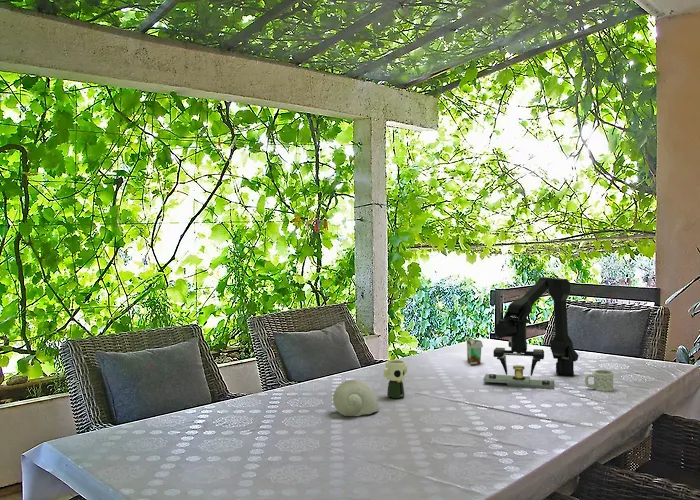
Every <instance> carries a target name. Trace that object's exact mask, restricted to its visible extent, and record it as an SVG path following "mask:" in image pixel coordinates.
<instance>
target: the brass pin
mask: <svg viewBox="0 0 700 500" xmlns="http://www.w3.org/2000/svg"><path fill="white" fill-rule="evenodd" d="M512 369H513V370H514V376H515V379H516V380H523V376H524V370H525V369H526V367H525V365H519V364H518V365H517V364H516V365H512Z"/></svg>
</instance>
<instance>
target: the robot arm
mask: <svg viewBox="0 0 700 500" xmlns="http://www.w3.org/2000/svg"><path fill="white" fill-rule="evenodd" d="M546 291H548V294H549V295H550V298H551V299H552V300H553V315H554V317H553V318H554V319H553V320H554V336H553V338H552V339H550V343H549V344H550V347H549V349H550V351H551V354H552V358H553V359H556V360H557V361H556V362H555V373H556V375H557V376H561V377H562V376H563V377H574V376H575V372H574V371H575V370H574V362H576V361H578V360H579V354H578V353H577V351H576V350H575V349H574V345H573V340H572V339H571V337H570V336H569V330H568V329H569V328H568V308H567V307H568V305H567V300H568V297H569V296H570V294H571V282H570V281H569V280H568V278H558V277H550V276H540V277H539V278H538V279H537V281H536V282H535V284H534V285H532V286H531V288H530V289H528V291H527V292H526V293H525V294H524V295H523V296H522V297H518V298H517V299H514V300H513V301H512V302H510V303H509V305H508V308H507V309H506V312H505V314H504V316H503V317H502V319H499V320H498V323H497V324H496V325H495V327H494V334H495V335H496V336H497V338H499V339H504V338H508V347H509V348H510V349H509V350H508V349H507V350H506V347H495V348H494V349H493V357H494V358H496V360H499V362H500V363H501V365H502V368H503V370H504V373H505V375H508V365H507V356H521V357H532V359H531V367H530V377H533V373H534V370H535V367H536V365H537V363H538V362H541V360H544V359H545V351H544V349H538V348H537V349H535V348H533V351H532V350H529V351H528V343H527V324H530V323H531V320H529V319H528V317H529V315H530V314H531V312H532V311H533V306H534V304H535V303H536V302H538V300H539V299H540V298H541V297H542V296H543V295H544V294H545V293H546Z"/></svg>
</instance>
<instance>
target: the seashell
mask: <svg viewBox="0 0 700 500" xmlns="http://www.w3.org/2000/svg"><path fill="white" fill-rule="evenodd" d="M332 401H333V406H334V408H335V410H336V411H337V412H338V413H339V414H340V415H342V416H344V417H359V416H363V415H371V414H373V413H376V412H379V410H380V407H379V406H380V405H379V402H378V401H379V400H378V399H377V396H376V394H375V393H374V391H373V389H371V388H370V386H369V385H368V384H366V383H365V382H363V381H361V380H357V379H349V380H345V381H343V382H342V383H340V384H339V385H338V386H337V387H336V388H335V390H334V392H333V397H332Z"/></svg>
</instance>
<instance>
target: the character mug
mask: <svg viewBox="0 0 700 500" xmlns="http://www.w3.org/2000/svg"><path fill="white" fill-rule="evenodd" d="M407 373H408V365H407V364H406V361H404V360H403V359H402V360H401V359H389V360H386V361H385V368H383V378H386V380H388V381H389V382H388V384H387V392H386V393H387V396H388V397H390V398H392V399H400V398H401V396H402V398H404V397H405V389H404V383H403V381H405V379H406V375H407Z"/></svg>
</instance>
